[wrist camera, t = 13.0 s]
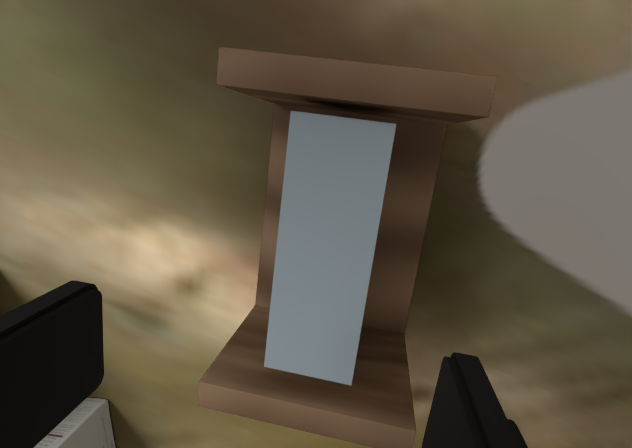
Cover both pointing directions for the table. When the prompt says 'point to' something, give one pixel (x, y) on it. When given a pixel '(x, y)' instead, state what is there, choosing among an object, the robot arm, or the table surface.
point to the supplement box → (83, 428)
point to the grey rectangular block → (326, 242)
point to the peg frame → (390, 251)
